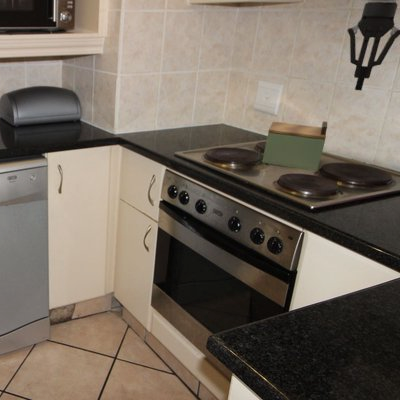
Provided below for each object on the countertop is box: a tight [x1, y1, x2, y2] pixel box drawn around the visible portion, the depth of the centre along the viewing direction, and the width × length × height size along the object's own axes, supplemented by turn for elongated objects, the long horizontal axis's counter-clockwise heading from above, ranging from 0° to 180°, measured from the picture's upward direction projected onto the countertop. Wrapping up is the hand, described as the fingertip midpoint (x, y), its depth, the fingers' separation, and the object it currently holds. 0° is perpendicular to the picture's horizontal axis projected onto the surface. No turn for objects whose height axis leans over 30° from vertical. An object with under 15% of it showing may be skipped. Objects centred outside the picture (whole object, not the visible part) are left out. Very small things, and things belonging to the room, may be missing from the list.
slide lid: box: [267, 120, 328, 140], centre depth 149 cm, size 16×13×3 cm
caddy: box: [261, 131, 326, 171], centre depth 152 cm, size 16×13×10 cm
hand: (358, 89), depth 139 cm, fingers closed
